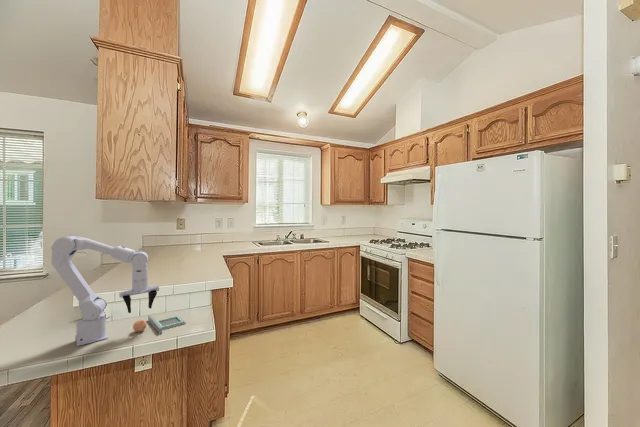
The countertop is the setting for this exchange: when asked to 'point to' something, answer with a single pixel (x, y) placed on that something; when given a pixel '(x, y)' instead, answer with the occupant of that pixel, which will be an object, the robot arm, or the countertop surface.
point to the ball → (139, 325)
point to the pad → (170, 322)
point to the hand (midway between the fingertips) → (139, 310)
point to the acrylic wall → (155, 324)
